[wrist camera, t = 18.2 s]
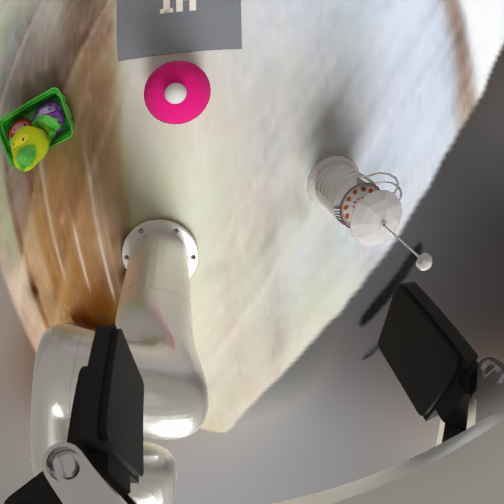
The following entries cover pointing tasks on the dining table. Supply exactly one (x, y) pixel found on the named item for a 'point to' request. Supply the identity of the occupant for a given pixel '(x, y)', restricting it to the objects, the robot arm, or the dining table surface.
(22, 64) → the dining table surface
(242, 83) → the dining table surface
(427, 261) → the french press
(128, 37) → the tile
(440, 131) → the dining table surface
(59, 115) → the fruit basket
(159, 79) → the pepper mill
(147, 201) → the dining table surface
